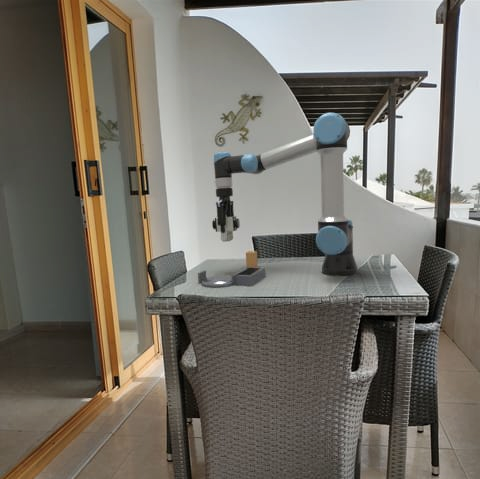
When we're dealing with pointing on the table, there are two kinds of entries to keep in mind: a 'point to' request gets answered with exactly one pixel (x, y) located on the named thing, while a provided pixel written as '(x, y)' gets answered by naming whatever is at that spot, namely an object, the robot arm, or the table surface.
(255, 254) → the tan rectangular block
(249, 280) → the grey rectangular frame
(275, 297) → the table surface
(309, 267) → the table surface
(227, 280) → the grey disc
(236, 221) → the pneumatic valve
